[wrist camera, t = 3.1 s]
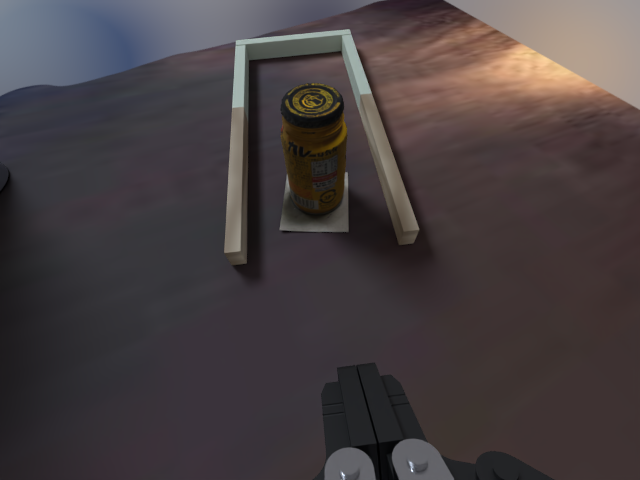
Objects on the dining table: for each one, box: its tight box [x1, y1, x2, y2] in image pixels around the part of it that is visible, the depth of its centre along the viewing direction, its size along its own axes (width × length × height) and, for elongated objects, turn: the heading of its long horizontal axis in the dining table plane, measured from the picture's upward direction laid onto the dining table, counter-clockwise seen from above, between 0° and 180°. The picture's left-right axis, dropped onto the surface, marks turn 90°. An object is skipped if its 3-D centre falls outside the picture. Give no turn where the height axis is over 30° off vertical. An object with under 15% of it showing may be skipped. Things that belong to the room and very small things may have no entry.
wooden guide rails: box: [224, 93, 419, 265], centre depth 36 cm, size 18×22×2 cm
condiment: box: [280, 83, 349, 232], centre depth 30 cm, size 7×8×12 cm
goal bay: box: [232, 29, 371, 120], centre depth 46 cm, size 18×18×2 cm
